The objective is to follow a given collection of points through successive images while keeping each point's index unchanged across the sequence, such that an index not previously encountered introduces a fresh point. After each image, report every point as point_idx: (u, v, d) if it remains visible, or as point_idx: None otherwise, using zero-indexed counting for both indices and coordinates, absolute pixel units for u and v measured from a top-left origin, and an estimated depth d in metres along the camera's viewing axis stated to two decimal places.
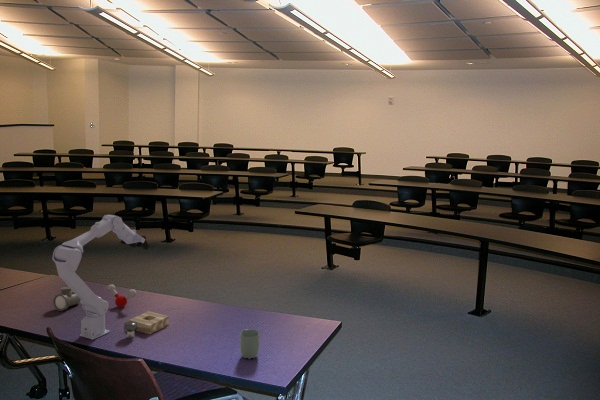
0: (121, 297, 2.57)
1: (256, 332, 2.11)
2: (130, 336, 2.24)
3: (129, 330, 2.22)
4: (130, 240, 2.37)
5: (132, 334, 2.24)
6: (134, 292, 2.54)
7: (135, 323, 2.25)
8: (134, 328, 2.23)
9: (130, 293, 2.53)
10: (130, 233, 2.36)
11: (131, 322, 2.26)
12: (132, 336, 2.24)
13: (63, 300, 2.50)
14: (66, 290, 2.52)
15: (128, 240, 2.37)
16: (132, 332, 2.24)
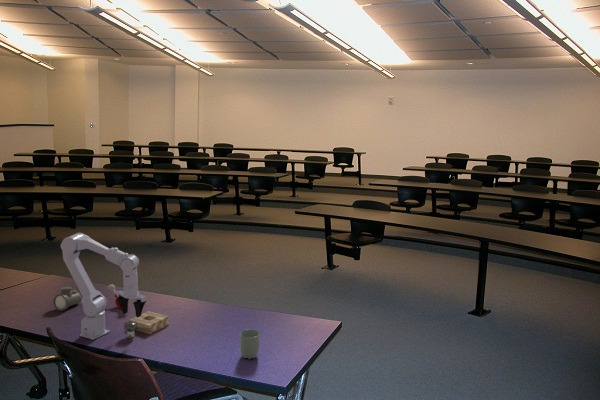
0: None
1: (256, 332, 2.11)
2: (130, 336, 2.24)
3: (129, 330, 2.22)
4: (131, 294, 2.20)
5: (132, 334, 2.24)
6: None
7: (135, 323, 2.25)
8: (134, 328, 2.23)
9: None
10: (136, 286, 2.21)
11: (131, 322, 2.26)
12: (132, 336, 2.24)
13: (63, 300, 2.50)
14: (66, 290, 2.52)
15: (129, 293, 2.20)
16: (132, 332, 2.24)
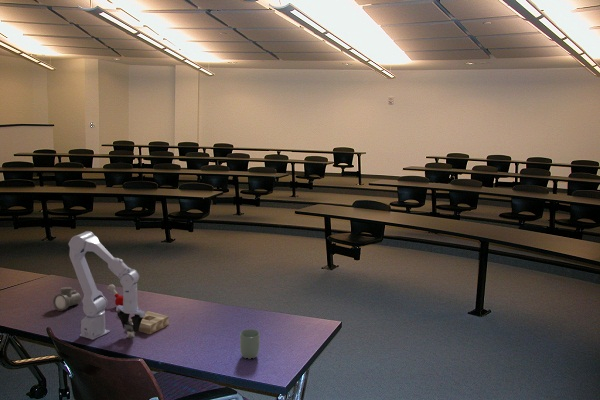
0: (121, 297, 2.57)
1: (256, 332, 2.11)
2: (130, 336, 2.24)
3: (129, 330, 2.22)
4: (131, 309, 2.21)
5: (132, 334, 2.24)
6: None
7: None
8: None
9: None
10: (135, 302, 2.22)
11: (131, 322, 2.26)
12: (132, 336, 2.24)
13: (63, 300, 2.50)
14: (66, 290, 2.52)
15: (129, 308, 2.20)
16: (132, 332, 2.24)
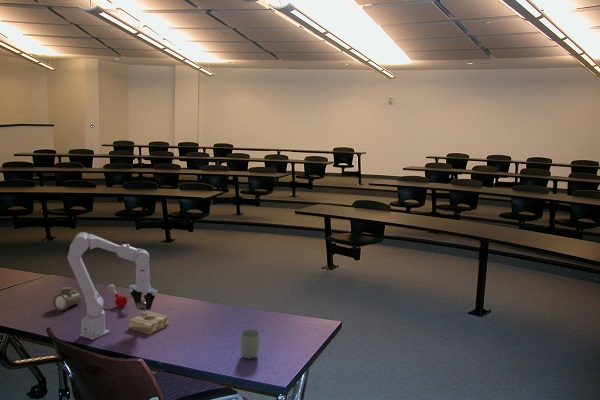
0: (121, 297, 2.57)
1: (256, 332, 2.11)
2: (142, 314, 2.30)
3: (142, 308, 2.28)
4: (143, 288, 2.27)
5: (144, 312, 2.30)
6: None
7: None
8: None
9: None
10: (148, 280, 2.28)
11: (143, 301, 2.32)
12: (144, 314, 2.31)
13: (63, 300, 2.50)
14: (66, 290, 2.52)
15: (142, 286, 2.27)
16: (144, 310, 2.30)
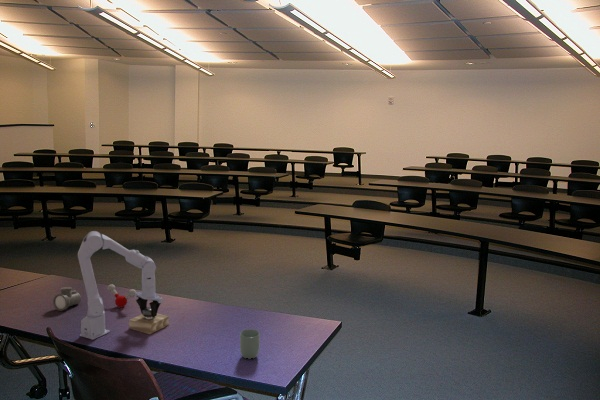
0: (121, 297, 2.57)
1: (256, 332, 2.11)
2: None
3: (147, 315, 2.33)
4: (149, 295, 2.31)
5: (150, 319, 2.35)
6: (134, 292, 2.54)
7: None
8: None
9: (130, 293, 2.53)
10: (154, 288, 2.33)
11: (148, 308, 2.36)
12: None
13: (63, 300, 2.50)
14: (66, 290, 2.52)
15: (147, 294, 2.31)
16: (150, 317, 2.35)
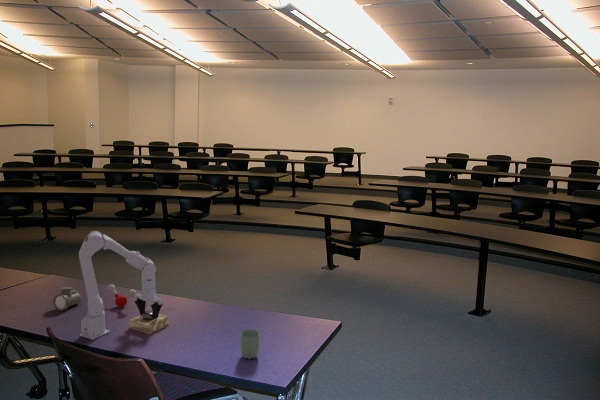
0: (121, 297, 2.57)
1: (256, 332, 2.11)
2: None
3: (147, 319, 2.33)
4: (149, 297, 2.31)
5: None
6: (134, 292, 2.54)
7: None
8: (152, 317, 2.34)
9: (130, 293, 2.53)
10: (154, 290, 2.33)
11: (149, 312, 2.36)
12: None
13: (63, 300, 2.50)
14: (66, 290, 2.52)
15: (147, 296, 2.31)
16: None
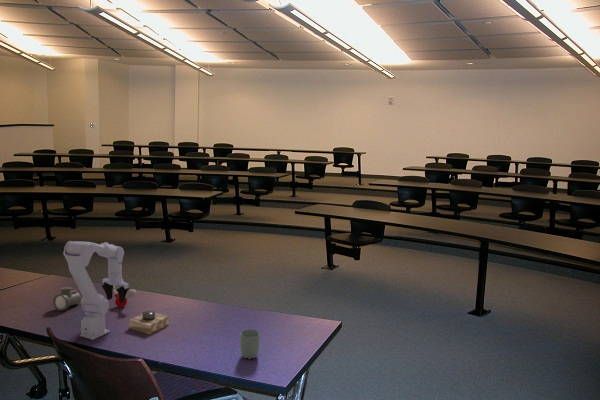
0: None
1: (256, 332, 2.11)
2: None
3: (147, 319, 2.33)
4: (115, 281, 2.36)
5: None
6: (134, 292, 2.54)
7: (153, 313, 2.36)
8: (152, 317, 2.34)
9: (130, 293, 2.53)
10: (120, 274, 2.37)
11: (149, 312, 2.36)
12: None
13: (63, 300, 2.50)
14: (66, 290, 2.52)
15: (113, 280, 2.36)
16: None
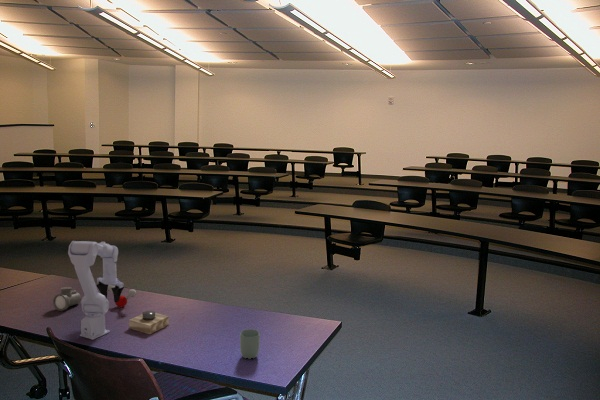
0: (121, 297, 2.57)
1: (256, 332, 2.11)
2: None
3: (147, 319, 2.33)
4: (110, 280, 2.37)
5: None
6: (134, 292, 2.54)
7: (153, 313, 2.36)
8: (152, 317, 2.34)
9: (130, 293, 2.53)
10: (115, 274, 2.38)
11: (149, 312, 2.36)
12: None
13: (63, 300, 2.50)
14: (66, 290, 2.52)
15: (108, 279, 2.37)
16: None
